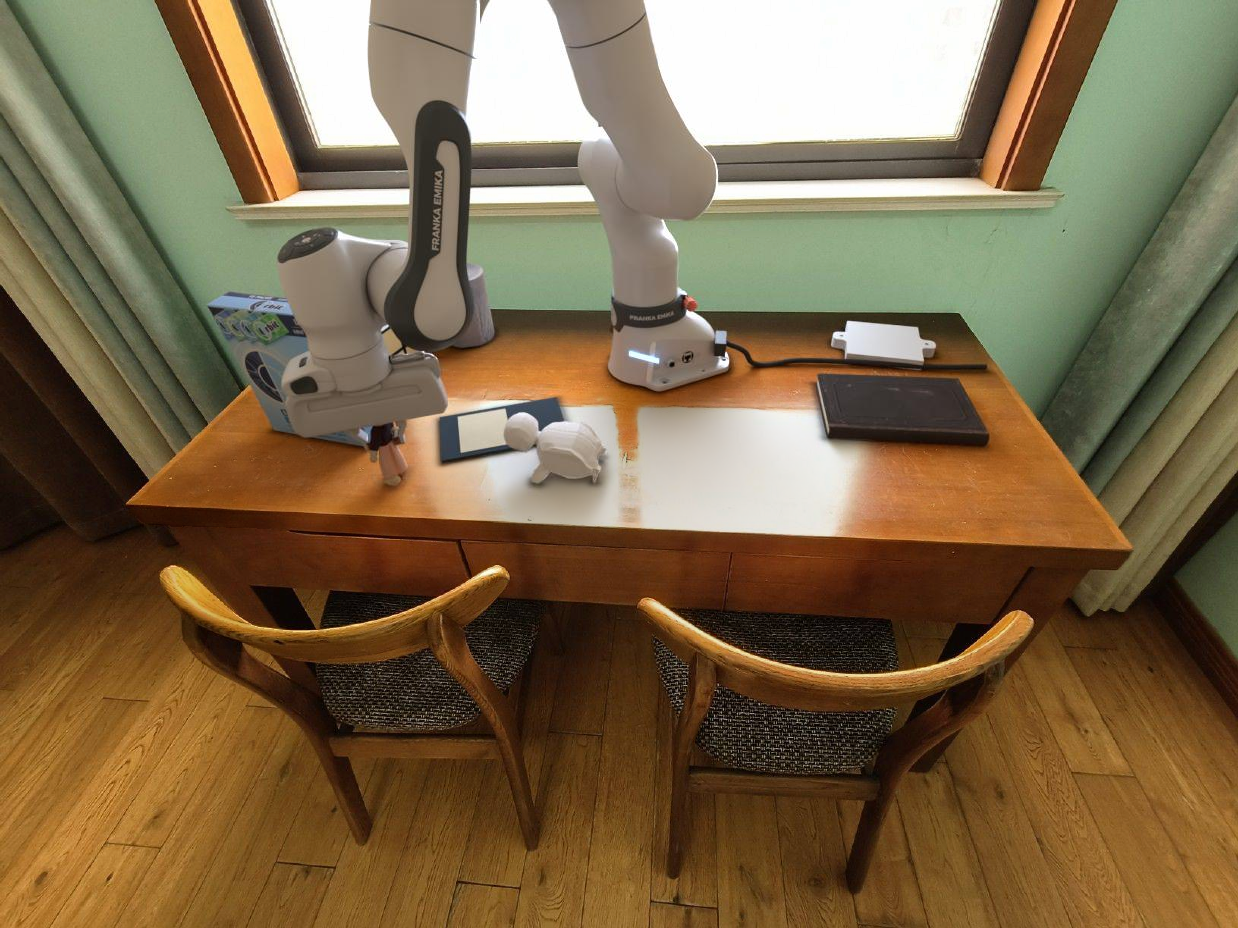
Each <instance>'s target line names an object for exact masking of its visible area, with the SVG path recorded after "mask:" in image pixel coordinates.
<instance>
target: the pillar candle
mask: <svg viewBox="0 0 1238 928" xmlns="http://www.w3.org/2000/svg"><path fill="white" fill-rule="evenodd" d="M467 273H468V279H469V283H470V287H471V290H472V294H473V300H474V314H473V318H472V321H471V324H470V326H469V328H468V330H467V331H466V332H465V334H464V335H463V336H462V337H461V338H460V339H459V340H458V341H457V342H456V343H454V344H453V345H452V347H455V348H458V349H459V348H461V349H465V348H470V347H472V348H473V347H480V346H483V345H486V344H487V343H489V342H490V341H492V340H493V338H494V336H495V334H496V332H495V326H494V322H493V321H494V320H493V317H492V311H491V307H490V302H489V297H488V291H487V286H486V281H485V276H484V269H483V268H482V267H481V266H480V265H478V264H475V263H470V262H467Z"/></svg>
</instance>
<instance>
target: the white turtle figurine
mask: <svg viewBox="0 0 1238 928" xmlns="http://www.w3.org/2000/svg"><path fill="white" fill-rule="evenodd" d="M503 435H504V439H505V442H506V444H507V445H508V446H510V447H511V448H513V449H516V450H518V451H520V452H521V453H527V452H528V451H529V450H530V449H532V447H534V446H533V445H534V444H537V446H536V455H537V458H538V460H539V464H538V465H537V466H536V467H535V469H533V472H532V474H531V478H530V482H531V483H533V484H540V483H542V481H544V480H545V479H546V478H547V477H548V476H549V474H550V473H551V472H552V473H553V474H556V475H557V476H558V475H559V476H560V477H564V478H565V479H570V480H574V479H575V480H578V479H582V478H586V477H591V476H592V483H593V484H594V483H596V480H597V479H598V476H599V474H600V472H601V470H602V466H601V465H600V464H599V461H600V462H601V461H602V460H603V457H604V455H605V454H606V451H607V449H608V444H606V443H602V440H601V439H600V437H599V436H598V435H597V434H596V432H595V430H594V429H593V427H592V426H591V425H589V424H588V423H586V422H580V421H569V420H568V421H567V420H564V422H554V423H551V424H549V425H548V426H546V427H545V428H544V429H543V430H542V431H539V430H538V421H537V420H536V419H535V418H534V417H533V416H531V415H530V414H528V413H524V412H522V413H518V414H515V415H513V416H511V417H510V418H509V419H508V421H507V423H506V426H505V429H504V434H503Z"/></svg>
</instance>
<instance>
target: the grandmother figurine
mask: <svg viewBox="0 0 1238 928" xmlns="http://www.w3.org/2000/svg"><path fill="white" fill-rule="evenodd" d="M397 429H398V427H397V426H396V424H395V422H392V423H386V424H381V425H375V426H373V427H372V429H371V431H370V434H371V438H370V447H369V450H370V451H369V461H370V463H374V464H375V463H376V462H378V464H379V469H380V472H381V475H382V477H383V478H382V483H383V484H386V485H388V486H391V487H393V486H394V487H395V486H397V485H398V484H400V483H401V481H402V477H400V476H399V475H403V474H404V473H406V471H407V470H408V469H409V468H408V466H409V465H408V464H407V461H406V459H405V456H404V455H403V453H402V451H401V450H400V448H399V445H397V446H395V444H394V441H393V439H392V430H397Z"/></svg>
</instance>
